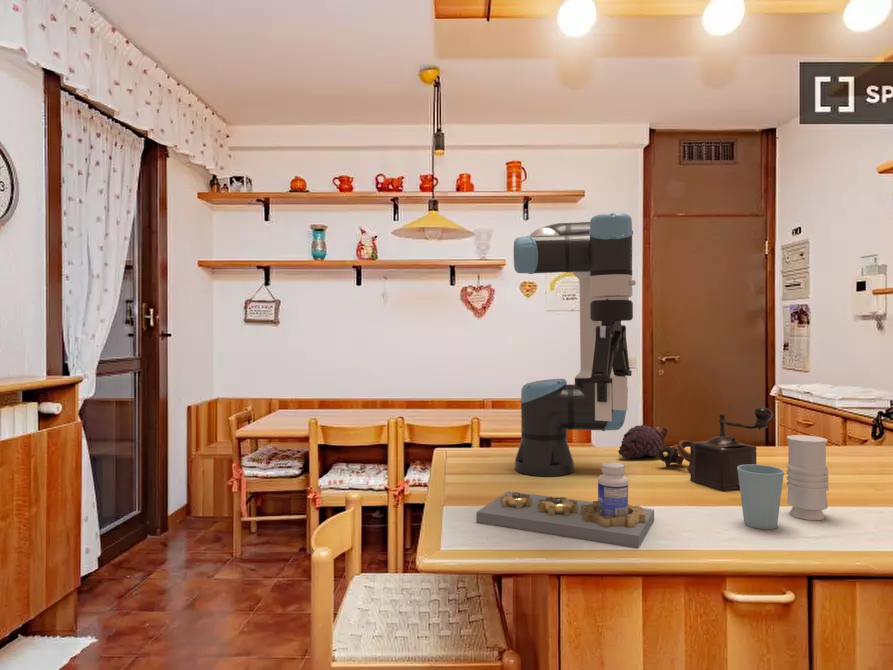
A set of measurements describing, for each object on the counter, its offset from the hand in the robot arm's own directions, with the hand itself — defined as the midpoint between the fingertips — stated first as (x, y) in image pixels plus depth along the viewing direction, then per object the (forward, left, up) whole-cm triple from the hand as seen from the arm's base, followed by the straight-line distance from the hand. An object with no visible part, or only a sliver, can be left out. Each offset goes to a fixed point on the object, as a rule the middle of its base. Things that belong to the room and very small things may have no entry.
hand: (612, 415), depth 111 cm
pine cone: (-6, +64, -21) cm, 67 cm away
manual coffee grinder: (+18, +44, -21) cm, 52 cm away
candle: (+32, +24, -21) cm, 45 cm away
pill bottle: (0, 0, -19) cm, 19 cm away
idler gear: (-19, 0, -19) cm, 27 cm away
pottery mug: (+6, +54, -21) cm, 58 cm away
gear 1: (-10, 0, -19) cm, 21 cm away
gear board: (-9, 0, -21) cm, 23 cm away
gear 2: (0, 0, -19) cm, 19 cm away
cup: (+24, +14, -21) cm, 35 cm away
